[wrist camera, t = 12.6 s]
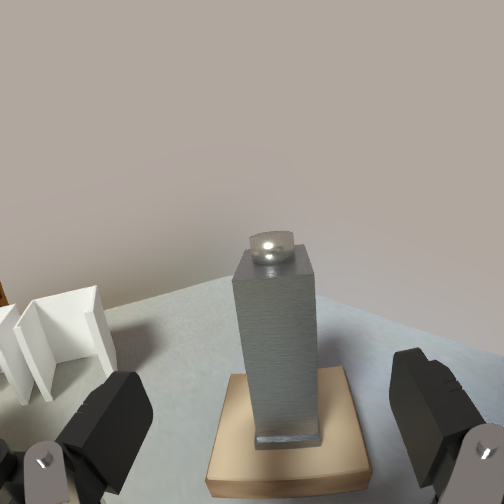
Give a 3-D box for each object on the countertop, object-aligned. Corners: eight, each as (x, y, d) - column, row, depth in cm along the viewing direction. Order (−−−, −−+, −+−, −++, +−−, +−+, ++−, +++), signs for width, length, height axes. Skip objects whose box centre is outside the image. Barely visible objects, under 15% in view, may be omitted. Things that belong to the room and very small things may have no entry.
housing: (313, 387, 27) (305, 222, 23) (320, 446, 20) (317, 245, 16) (261, 391, 27) (239, 228, 24) (255, 450, 20) (222, 254, 16)
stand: (342, 385, 30) (343, 364, 30) (366, 488, 17) (372, 468, 16) (233, 393, 32) (229, 373, 31) (212, 496, 18) (203, 478, 18)
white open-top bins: (116, 350, 43) (96, 285, 41) (120, 388, 34) (92, 311, 31) (-10, 375, 34) (-35, 315, 31) (-28, 412, 24) (-62, 343, 21)
